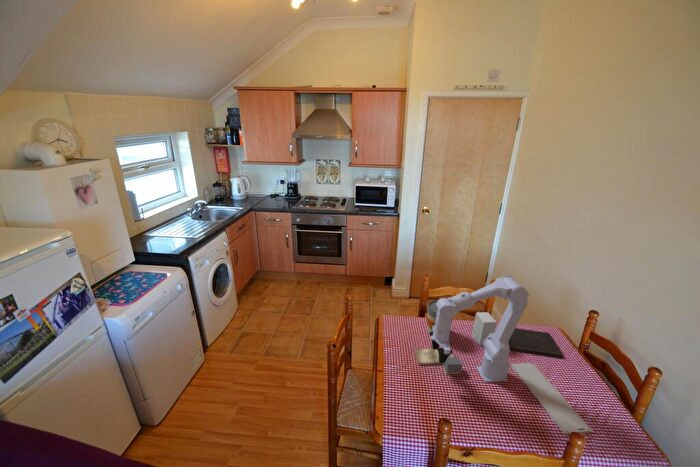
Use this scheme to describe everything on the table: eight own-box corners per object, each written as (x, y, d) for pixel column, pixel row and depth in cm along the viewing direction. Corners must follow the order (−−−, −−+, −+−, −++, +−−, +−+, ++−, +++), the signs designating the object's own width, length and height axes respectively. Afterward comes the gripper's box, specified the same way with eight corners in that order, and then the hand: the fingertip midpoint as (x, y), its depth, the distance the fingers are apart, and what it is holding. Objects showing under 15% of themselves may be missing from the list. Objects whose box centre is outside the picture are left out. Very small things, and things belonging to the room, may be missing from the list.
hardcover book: (498, 329, 154) (499, 325, 153) (547, 336, 150) (548, 332, 149) (507, 351, 139) (508, 347, 138) (562, 359, 135) (563, 355, 134)
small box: (492, 345, 142) (497, 322, 137) (479, 345, 141) (484, 322, 137) (483, 334, 149) (488, 311, 145) (471, 334, 149) (475, 312, 144)
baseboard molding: (535, 365, 131) (509, 366, 130) (537, 359, 130) (511, 361, 129) (596, 433, 102) (564, 436, 101) (599, 427, 101) (566, 430, 100)
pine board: (448, 350, 138) (448, 348, 137) (455, 363, 130) (455, 361, 130) (414, 351, 136) (414, 349, 136) (419, 364, 129) (419, 362, 129)
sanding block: (456, 366, 129) (458, 357, 127) (460, 373, 125) (462, 364, 123) (443, 366, 128) (444, 357, 127) (446, 374, 125) (448, 364, 123)
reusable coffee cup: (420, 325, 154) (423, 300, 149) (444, 324, 156) (447, 299, 151) (429, 342, 143) (433, 315, 138) (454, 340, 144) (459, 314, 139)
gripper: (426, 316, 123) (423, 343, 128) (439, 340, 109) (434, 369, 114) (443, 316, 123) (439, 343, 128) (457, 340, 110) (452, 369, 115)
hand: (438, 355), depth 121 cm, fingers open, 7 cm apart
